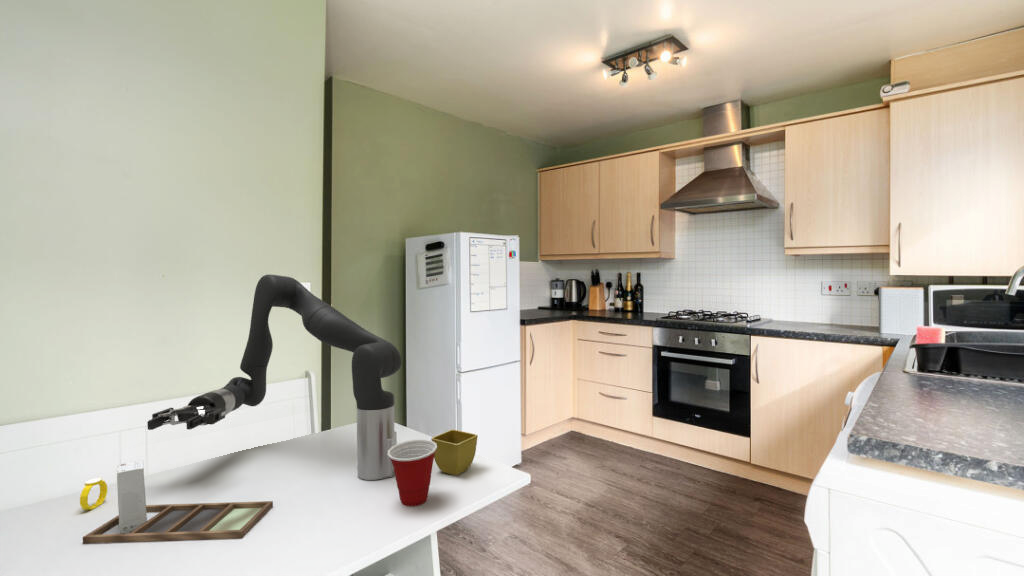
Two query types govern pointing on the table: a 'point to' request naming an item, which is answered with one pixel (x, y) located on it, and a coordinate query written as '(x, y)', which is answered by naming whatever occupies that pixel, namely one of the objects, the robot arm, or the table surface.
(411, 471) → the plastic cup
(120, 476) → the skincare box
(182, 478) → the table surface
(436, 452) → the flower pot
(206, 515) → the divided wooden frame
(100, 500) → the watch
